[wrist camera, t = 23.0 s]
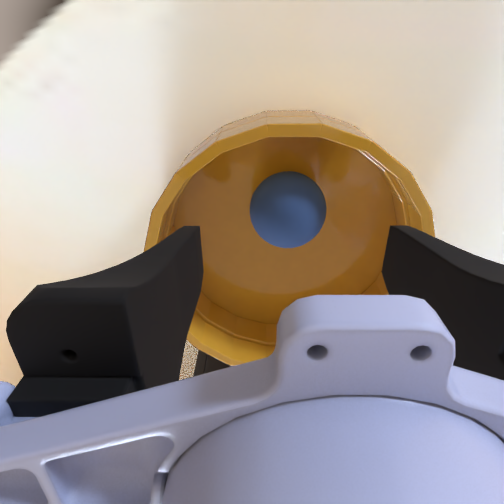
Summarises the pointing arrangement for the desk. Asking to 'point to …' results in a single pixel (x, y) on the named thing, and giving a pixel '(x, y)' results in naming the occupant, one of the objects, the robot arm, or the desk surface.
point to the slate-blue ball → (287, 209)
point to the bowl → (272, 257)
